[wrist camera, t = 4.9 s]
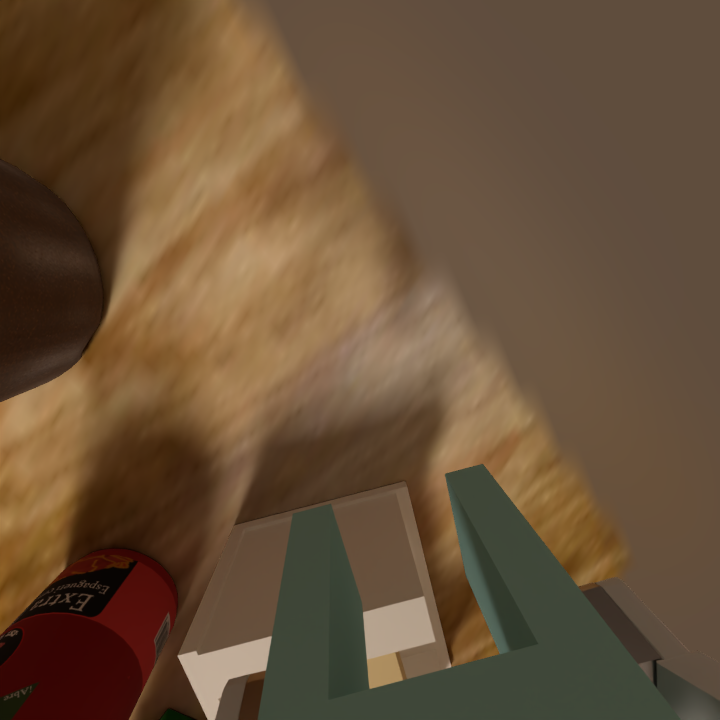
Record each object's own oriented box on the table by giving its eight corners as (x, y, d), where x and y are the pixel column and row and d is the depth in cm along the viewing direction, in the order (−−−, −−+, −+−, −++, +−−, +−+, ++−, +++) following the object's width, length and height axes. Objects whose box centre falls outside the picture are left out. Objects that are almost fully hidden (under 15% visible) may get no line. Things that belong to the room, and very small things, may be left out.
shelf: (234, 525, 22) (177, 655, 14) (405, 480, 22) (441, 586, 14) (303, 705, 26) (287, 887, 18) (450, 666, 26) (499, 831, 18)
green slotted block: (292, 513, 11) (218, 950, 4) (482, 464, 11) (747, 805, 4) (327, 611, 12) (317, 1093, 5) (500, 565, 12) (733, 977, 5)
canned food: (137, 524, 22) (-57, 756, 11) (206, 614, 24) (95, 889, 13) (34, 575, 22) (-252, 849, 11) (109, 660, 24) (-78, 966, 13)
